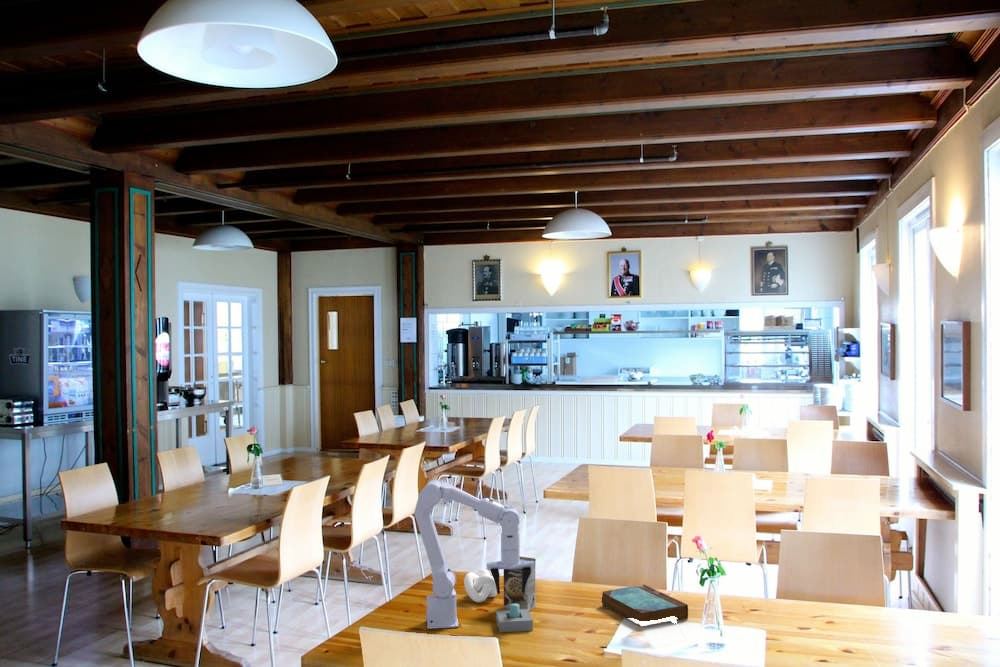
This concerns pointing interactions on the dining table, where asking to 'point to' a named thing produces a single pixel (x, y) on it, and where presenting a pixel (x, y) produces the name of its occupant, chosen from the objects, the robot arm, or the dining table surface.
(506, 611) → the socket board
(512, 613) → the peg
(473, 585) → the white knot sculpture
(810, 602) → the dining table surface
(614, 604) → the book
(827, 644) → the dining table surface
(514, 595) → the coffee box
